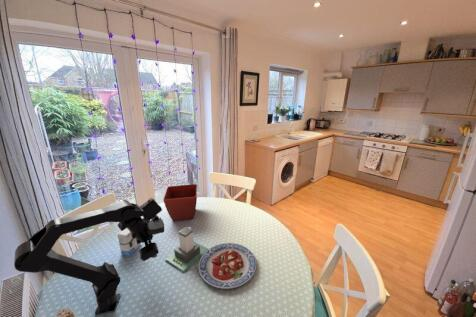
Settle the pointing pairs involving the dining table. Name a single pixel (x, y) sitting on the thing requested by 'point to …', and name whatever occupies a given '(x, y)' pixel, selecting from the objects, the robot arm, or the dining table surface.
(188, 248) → the keyed plug
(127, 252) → the ink box
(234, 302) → the dining table surface
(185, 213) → the plant pot
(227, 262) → the ceramic plate
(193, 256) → the header board
